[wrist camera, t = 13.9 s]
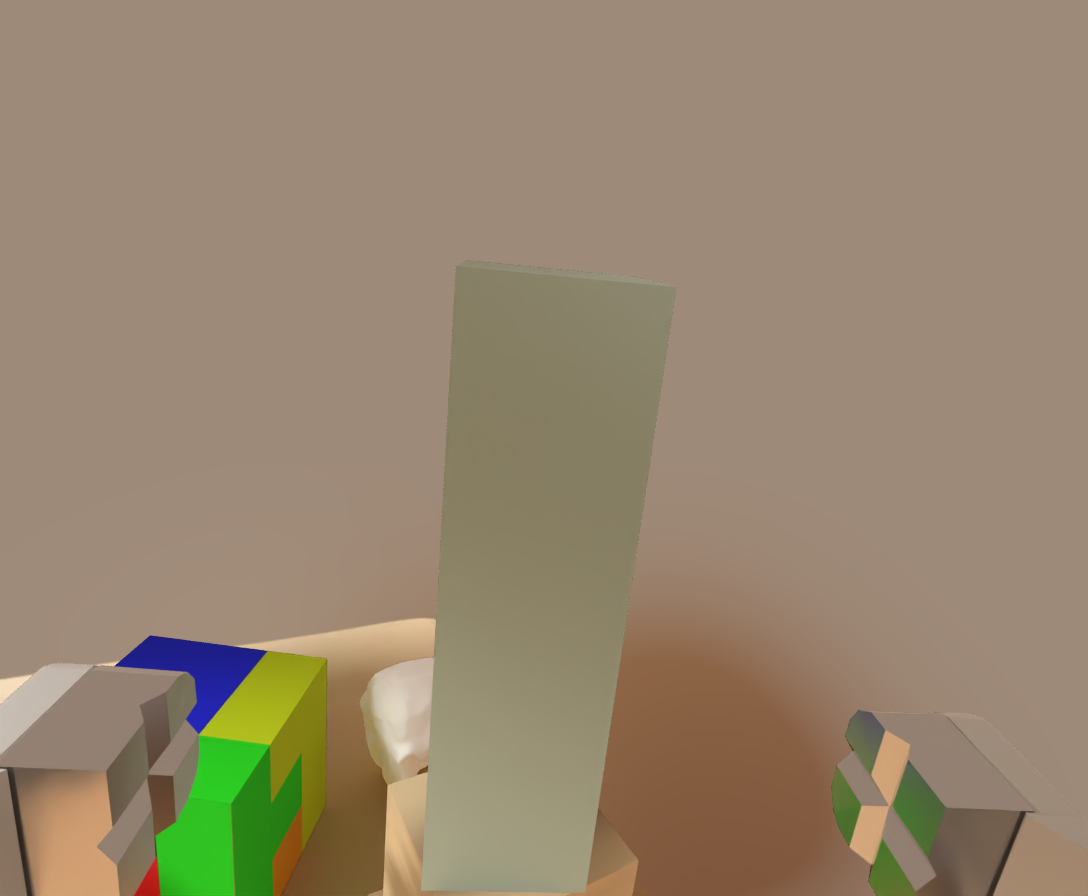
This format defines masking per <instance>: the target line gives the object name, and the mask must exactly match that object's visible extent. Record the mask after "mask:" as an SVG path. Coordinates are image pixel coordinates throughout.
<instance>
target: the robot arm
mask: <svg viewBox="0 0 1088 896" xmlns="http://www.w3.org/2000/svg"><path fill="white" fill-rule="evenodd" d="M196 703H197V698H196V688H195V679H194V678H193V677H192V676H191V675H190V674H189V673H188V672H180V671H167V670H154V669H141V668H128V667H115V666H102V665H101V666H95V665H84V664H68V663H54V664H51V665H47V666H44V667H42V668H40V669H39V670H38V671H37V672H36V673H35V674H34V675H33V676H32V677H30V678H29V679H28V680H27V681H26V682H25V683H24V684H23V685H22V686H20V687H19V688H18V689H17V690H16V691H15V692H14V693H13V694H12V695H11V696H9V697H8V698H7V699H6V700H5V701H4V702H3V703H2V704H1V705H0V896H134V894H135V892H136V891H137V889H138V887H139V886H140V884H141V882H142V880H143V879H144V877H145V875H146V873H147V872H148V870H149V868H150V867H151V865H152V863H153V861H154V860H155V858H156V855H155V841H154V837H155V836H156V835H158V834H159V833H161V832H162V831H164V830H165V829H166V828H168V827H169V826H171V825H172V824H174V823H175V822H176V821H177V819H178V817H179V816H180V814H181V812H182V810H183V808H184V806H185V805H186V803H187V801H188V799H189V795H190V792H191V789H192V786H193V783H194V780H195V777H196V774H197V768H198V760H199V734H198V733H197V732H196V731H195V729H194V728H193V727H192V726H191V725H190V724H189V723H188V721H187V720H186V718H187V717H188V715H189V714H190V712H191V711H192V709H193V708H194V706H195V705H196ZM845 737H846V739H847V741H848V743H849V745H850V747H851V749H852V752H851V753H850V754H848V755H847V756H846V757H845V758H844V759H843V760H842V761H841V762H840V763H838V764H837V766H836V770H835V774H834V779H833V783H832V787H831V788H832V801H833V811H834V814H835V817H836V820H837V824H838V827H839V829H840V831H841V833H842V835H843V837H844V838H845V840H846V842H847V844H848V846H849V848H851V849H852V850H853V851H855V852H856V853H857V854H858V855H860V856H861V857H862V858H863V859H865V860H866V861H867V862H868V863H870V864H871V869H870V875H869V881H868V882H869V883H870V885H871V887H872V888H873V890H874V892H875V894H876V896H1088V816H1084V815H1082V814H1081V813H1080V812H1079V811H1078V810H1077V809H1076V808H1074V806H1073V805H1072V804H1071V803H1070V802H1069V801H1068V800H1067V799H1066V798H1065V797H1064V796H1063V795H1061V793H1059V792H1058V791H1057V790H1056V789H1055V788H1054V787H1053V786H1052V785H1051V784H1050V783H1049V782H1048V781H1047V780H1046V779H1045V778H1044V777H1043V776H1042V775H1041V774H1040V773H1039V772H1038V771H1037V770H1036V769H1035V768H1034V767H1033V766H1032V765H1031V764H1030V763H1029V762H1028V761H1027V760H1026V759H1025V758H1024V757H1023V756H1022V755H1021V754H1020V753H1019V752H1018V751H1017V750H1016V749H1015V748H1014V747H1013V746H1012V745H1011V744H1010V743H1009V742H1008V741H1007V740H1006V739H1005V738H1004V737H1003V736H1002V735H1001V734H1000V733H999V732H998V731H997V730H996V729H995V728H994V727H993V726H992V725H991V724H990V723H989V722H988V721H987V720H985V719H983V718H981V717H979V716H977V715H975V714H973V713H937V712H935V713H933V714H927V713H909V712H908V713H907V712H888V711H868V710H858V711H857V712H856V713H855V714H854V716H853V717H852V718H851V719H850V722H849V725H848V728H847V731H846V734H845Z"/></svg>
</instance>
